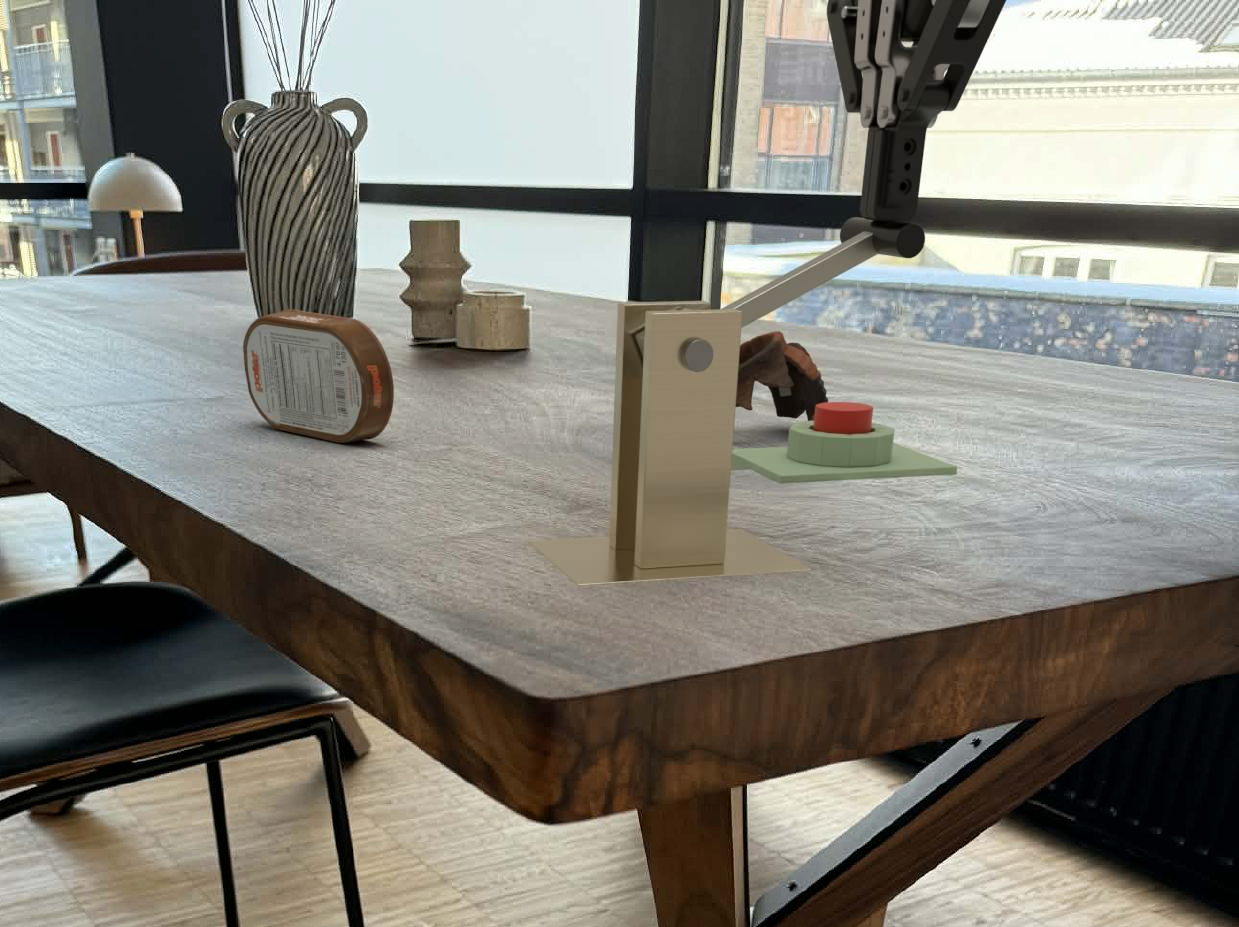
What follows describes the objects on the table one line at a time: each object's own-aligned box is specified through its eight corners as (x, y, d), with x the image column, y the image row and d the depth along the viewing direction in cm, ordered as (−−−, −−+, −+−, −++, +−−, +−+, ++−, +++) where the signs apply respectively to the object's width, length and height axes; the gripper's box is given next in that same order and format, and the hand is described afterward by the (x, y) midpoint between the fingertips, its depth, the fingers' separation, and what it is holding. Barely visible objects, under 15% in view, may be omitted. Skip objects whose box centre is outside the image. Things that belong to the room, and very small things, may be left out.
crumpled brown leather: (826, 459, 108) (776, 353, 104) (713, 505, 114) (662, 406, 110) (866, 391, 116) (821, 290, 112) (759, 438, 122) (713, 343, 118)
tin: (399, 446, 110) (395, 320, 106) (365, 451, 108) (360, 323, 104) (274, 421, 119) (266, 304, 115) (241, 425, 117) (231, 307, 113)
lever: (872, 250, 75) (858, 201, 74) (931, 259, 70) (918, 206, 68) (639, 377, 75) (621, 330, 74) (681, 395, 70) (663, 345, 69)
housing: (888, 467, 103) (894, 413, 102) (954, 494, 96) (962, 436, 94) (723, 475, 101) (727, 420, 99) (778, 503, 93) (783, 444, 91)
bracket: (740, 552, 82) (760, 295, 76) (809, 595, 75) (838, 313, 68) (527, 565, 80) (530, 300, 73) (577, 611, 72) (584, 319, 66)
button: (854, 429, 99) (857, 400, 98) (879, 438, 96) (883, 409, 95) (803, 431, 98) (806, 402, 97) (827, 441, 95) (830, 411, 94)
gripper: (1112, -277, 58) (1034, 226, 67) (941, -212, 69) (893, 212, 78) (935, -289, 56) (878, 229, 65) (790, -220, 68) (757, 214, 76)
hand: (886, 219), depth 71 cm, fingers closed
